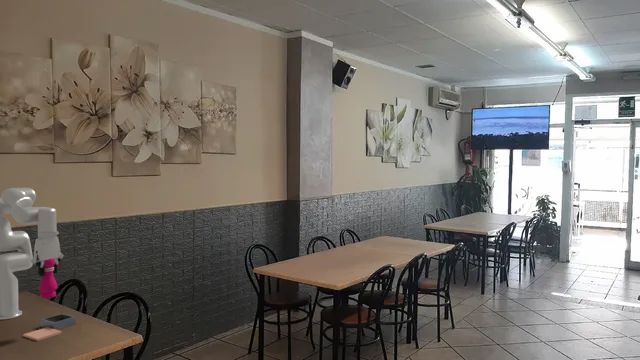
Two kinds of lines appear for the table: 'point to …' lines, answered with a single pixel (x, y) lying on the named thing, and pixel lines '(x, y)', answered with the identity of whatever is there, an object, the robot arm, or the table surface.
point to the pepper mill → (48, 280)
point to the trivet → (42, 334)
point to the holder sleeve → (58, 321)
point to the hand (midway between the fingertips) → (48, 274)
